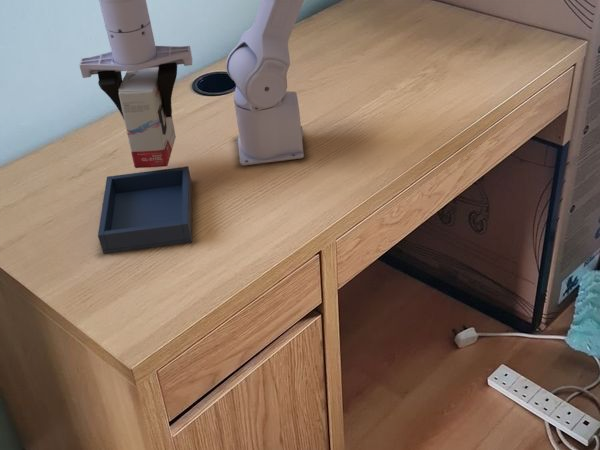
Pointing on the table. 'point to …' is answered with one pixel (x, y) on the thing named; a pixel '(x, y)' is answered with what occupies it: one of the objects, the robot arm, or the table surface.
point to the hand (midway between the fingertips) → (148, 116)
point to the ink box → (146, 118)
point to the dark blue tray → (146, 210)
